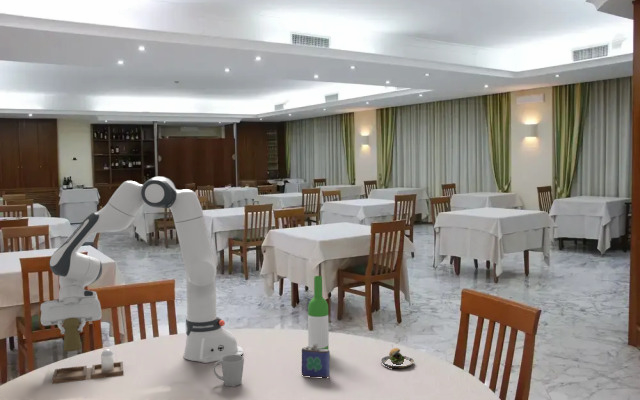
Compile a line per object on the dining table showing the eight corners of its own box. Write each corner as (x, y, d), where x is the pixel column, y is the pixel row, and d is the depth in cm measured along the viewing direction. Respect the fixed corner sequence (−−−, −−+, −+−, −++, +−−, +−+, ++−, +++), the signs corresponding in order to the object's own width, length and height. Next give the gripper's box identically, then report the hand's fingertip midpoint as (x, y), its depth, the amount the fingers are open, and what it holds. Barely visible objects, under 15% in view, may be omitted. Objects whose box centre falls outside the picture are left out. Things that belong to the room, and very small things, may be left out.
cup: (244, 387, 192) (243, 361, 192) (213, 388, 191) (212, 363, 191) (244, 378, 200) (244, 354, 199) (214, 380, 199) (214, 355, 198)
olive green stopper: (75, 351, 205) (73, 320, 204) (59, 351, 206) (57, 320, 205) (85, 346, 211) (83, 316, 210) (70, 345, 212) (68, 315, 211)
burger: (391, 373, 206) (391, 352, 205) (375, 362, 217) (375, 342, 216) (420, 368, 211) (420, 347, 210) (403, 358, 221) (403, 338, 221)
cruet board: (122, 368, 211) (122, 360, 211) (123, 379, 200) (123, 371, 199) (55, 375, 203) (55, 368, 203) (52, 388, 192) (52, 380, 192)
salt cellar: (113, 368, 206) (113, 347, 205) (113, 372, 202) (113, 350, 202) (101, 370, 205) (101, 348, 204) (101, 373, 201) (100, 351, 200)
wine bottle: (332, 352, 227) (332, 275, 225) (321, 358, 220) (321, 279, 218) (315, 349, 231) (315, 273, 229) (304, 355, 224) (303, 277, 222)
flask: (330, 376, 202) (330, 343, 201) (328, 379, 199) (327, 346, 198) (302, 373, 205) (302, 341, 204) (300, 377, 202) (299, 344, 201)
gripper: (39, 297, 210) (38, 331, 202) (100, 291, 217) (101, 324, 209) (41, 306, 215) (40, 340, 206) (101, 300, 222) (102, 333, 213)
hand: (71, 332), depth 207 cm, fingers closed on olive green stopper, 4 cm apart
